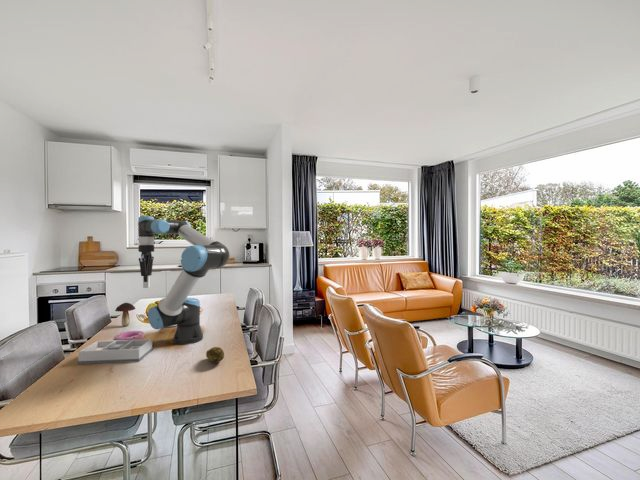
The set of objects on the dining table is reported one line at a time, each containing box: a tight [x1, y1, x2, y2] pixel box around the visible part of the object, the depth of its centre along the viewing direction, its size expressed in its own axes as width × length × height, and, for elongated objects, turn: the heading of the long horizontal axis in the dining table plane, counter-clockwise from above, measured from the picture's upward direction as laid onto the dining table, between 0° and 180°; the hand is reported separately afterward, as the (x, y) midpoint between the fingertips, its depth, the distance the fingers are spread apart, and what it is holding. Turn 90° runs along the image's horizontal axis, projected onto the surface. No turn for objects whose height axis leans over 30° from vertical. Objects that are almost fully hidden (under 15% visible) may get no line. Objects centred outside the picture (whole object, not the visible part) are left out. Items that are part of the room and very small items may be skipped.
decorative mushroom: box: [114, 302, 136, 327], centre depth 190 cm, size 11×11×15 cm
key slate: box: [109, 344, 125, 350], centre depth 142 cm, size 5×5×3 cm
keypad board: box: [77, 338, 154, 365], centre depth 142 cm, size 26×14×6 cm, turn 97°
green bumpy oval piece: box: [205, 346, 225, 364], centre depth 136 cm, size 8×13×8 cm, turn 15°
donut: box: [112, 330, 145, 340], centre depth 161 cm, size 14×14×5 cm
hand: (146, 287), depth 163 cm, fingers closed
